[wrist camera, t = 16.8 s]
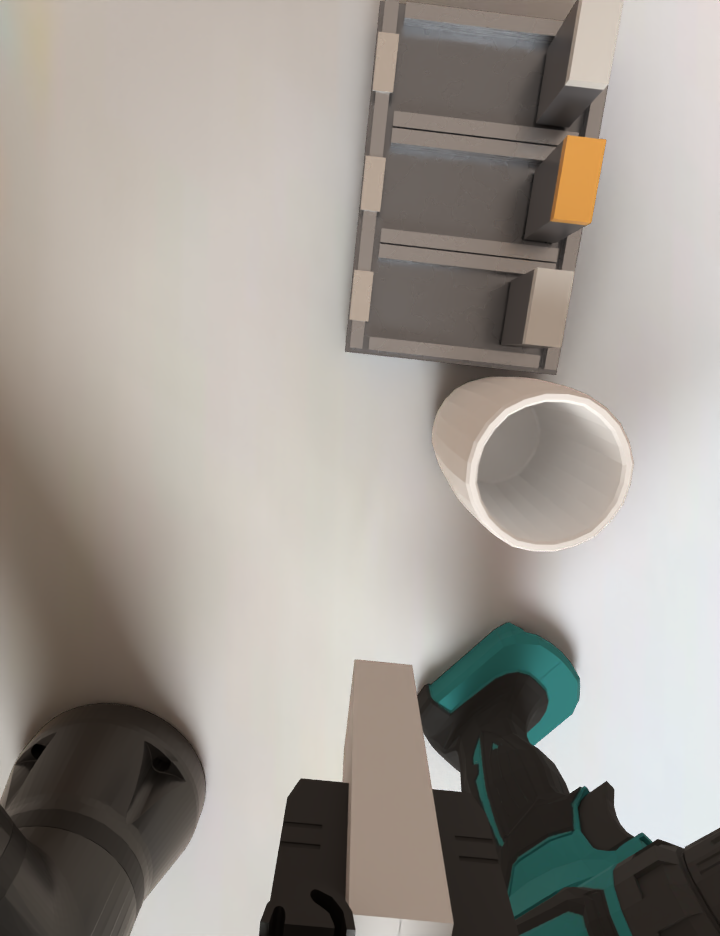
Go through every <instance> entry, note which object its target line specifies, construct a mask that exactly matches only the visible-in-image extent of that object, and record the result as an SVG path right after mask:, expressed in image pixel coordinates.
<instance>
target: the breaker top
mask: <svg viewBox="0 0 720 936" xmlns="http://www.w3.org/2000/svg"><path fill="white" fill-rule="evenodd" d="M623 1H624V0H577V1H576V2H575V4H574V6H573V7H572V9H571V11H570V12H569V14H568V16H567V17H566V19H565V21H564V22H563V24H562V25H561V27H560V29H559V30H558V32H557V34H556V35H555V37H554V39H553V40H552V42H551V44H550V45H549V47H548V49H547V55H546V62H545V68H544V74H543V81H542V87H541V93H540V100H539V106H538V113H537V119H536V124H542V125H550V126H558V127H567V128H569V127H570V126H571V125H572V124H573V122H574V121H575V120H576V119H577V118H578V117H579V116H580V115H581V114H582V113H583V112H584V110H585V109H586V108H587V107H588V106H589V105H590V104H591V103H592V102H593V101H594V100H595V98H596V97H597V96H598V95H599V94H600V93H601V92H602V91H603V90H604V89H605V88H606V86H607V85H608V84H609V79H610V73H611V68H612V62H613V56H614V51H615V45H616V40H617V34H618V29H619V23H620V18H621V12H622V6H623Z"/></svg>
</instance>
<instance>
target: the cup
mask: <svg viewBox="0 0 720 936" xmlns="http://www.w3.org/2000/svg"><path fill="white" fill-rule="evenodd" d="M432 444H433V447H434V451H435V454H436V458H437V461H438V463H439V466H440V468H441V470H442V472H443V473H444V475H445V477H446V479H447V481H448V483H449V484H450V486H451V488H452V490H453V492H454V493H455V495H456V496H457V498H458V499H459V501H460V502H461V503H462V504H463V505H464V506H465V507H466V509H467V510H468V511H469V512H470V513H471V514H472V515H473V516H474V517H475V518H476V519H477V520H478V521H479V522H480V523H481V524H482V525H483V526H484V527H486V528H487V529H488V530H489V531H490V532H491V533H492V534H494V535H495V536H496V537H498V538H499V539H501V540H502V541H504V542H506V543H507V544H509V545H510V546H512V547H516V548H520V549H525V550H529V551H558V550H562V549H566V548H570V547H574V546H576V545H579V544H581V543H583V542H585V541H587V540H589V539H591V538H594V537H595V536H596V535H597V534H598V533H599V532H600V531H601V530H602V529H604V528H605V527H606V526H607V525H608V524H609V523H610V522H611V520H612V519H613V518H614V516H615V515H616V514H617V512H618V511H619V509H620V508H621V507H622V505H623V503H624V500H625V498H626V495H627V493H628V490H629V487H630V485H631V479H632V472H633V466H634V461H633V456H632V452H631V447H630V442H629V440H628V438H627V436H626V434H625V432H624V429H623V427H622V425H621V423H620V422H619V421H618V420H617V419H616V418H615V417H614V415H613V414H612V413H611V412H610V411H609V410H608V409H607V408H606V407H605V406H603V405H602V404H600V403H599V402H597V401H596V400H594V399H593V398H592V397H590V396H589V395H586V394H584V393H582V392H579V391H577V390H575V389H572V388H570V387H566V386H563V385H559V384H555V383H551V382H547V381H543V380H539V379H533V378H525V377H486V378H481V379H477V380H474V381H470V382H467V383H465V384H464V385H462V386H460V387H458V388H456V389H455V390H454V391H453V392H452V393H451V394H450V395H449V396H448V397H447V398H446V399H445V400H444V402H443V404H442V405H441V407H440V408H439V410H438V412H437V414H436V417H435V421H434V424H433V430H432Z"/></svg>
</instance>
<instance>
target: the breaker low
mask: <svg viewBox="0 0 720 936" xmlns="http://www.w3.org/2000/svg"><path fill="white" fill-rule="evenodd" d="M574 273H575V272H574V271H565V270H556V269H548V268H539V267H538V268H536V269H534V270H532V271H530V272H528V273H526V274H523V275H521V276H519V277H517V278H515V279H513V280H511V284H510V290H509V297H508V303H507V309H506V316H505V322H504V328H503V335H502V341H501V345H505V346H514V347H523V348H561V346H562V340H563V335H564V329H565V323H566V318H567V312H568V307H569V301H570V296H571V290H572V284H573V279H574Z"/></svg>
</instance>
